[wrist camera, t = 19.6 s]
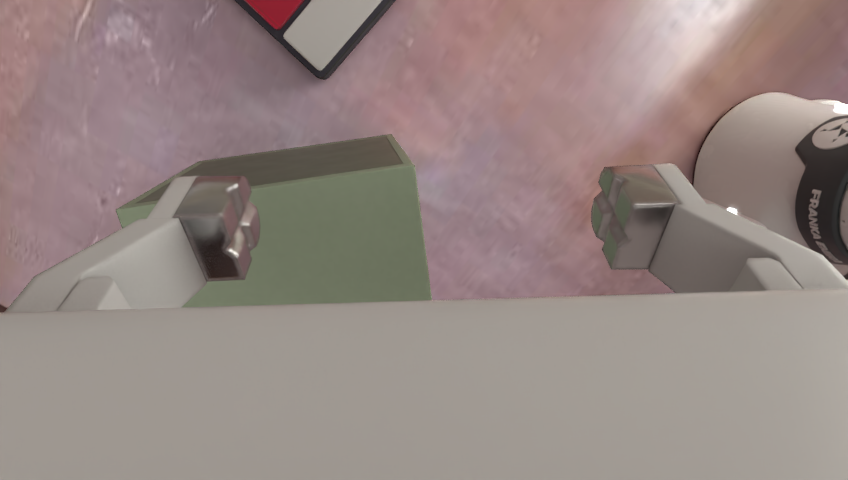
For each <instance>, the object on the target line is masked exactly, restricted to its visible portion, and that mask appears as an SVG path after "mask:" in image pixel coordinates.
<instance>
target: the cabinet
mask: <svg viewBox="0 0 848 480" xmlns="http://www.w3.org/2000/svg"><path fill="white" fill-rule="evenodd" d="M179 176H245V177H246V178H247V179H248V181H249V184H250V187H251V190H252V193H251V195H250V198H249V201H250V202H251V203H252V204H254V205H255V206H256V207H257V210H258V213H259V217H260V225H261V228H260V238H259V241H258V244H257V246H256V247H255V248H254V249H252V250H251V251H250V254H251V257H252V261H251V264H250V267H249V270H248V272H247V275H246V278H245V280H231V281H212V282H207V284H206V285H205V286H204V287H203V288H202V289H201V290H200V291H199V292H197V293H196V294H195V295H194V296H193V297H192V298H191V299H190V300H189V301H188V302H187V303H185V304H184V305H183V306H182V307H216V306H251V305H286V304H321V303H356V302H390V301H425V300H432V297H431V289H430V282H429V274H428V266H427V258H426V250H425V242H424V235H423V227H422V219H421V211H420V203H419V195H418V188H417V180H416V172H415V166H414V164H413V163H412V161H411V160H410V159H409V157H408V156H407V155H406V153H405V152H404V151H403V149H402V148H401V146H400V145H399V144H398V142H397V141H396V140H395V138H394V137H393V136H392V134H389V135H382V136H375V137H368V138H361V139H354V140H347V141H340V142H333V143H325V144H318V145H311V146H304V147H297V148H290V149H283V150H276V151H269V152H262V153H255V154H248V155H241V156H234V157H227V158H220V159H212V160H205V161H199V162H197V163H195V164H194V165H192V166H190V167H188V168H187V169H185V170H183V171H182V172H180V173H178V174H176V175H175V176H173V177H171V178H169V179H168V180H166V181H164V182H163V183H161V184H159V185H157V186H156V187H154V188H152V189H151V190H149V191H147V192H145V193H144V194H142V195H140V196H139V197H137V198H135V199H133V200H132V201H130V202H128V203H127V204H125V205H123V206H121V207H120V208H118V209H116V212H117V215H118V218H119V220H120V223H121V226H122V228H124V227H126V226H127V225H129V224H131V223H133V222H135V221H137V220H138V219H147V217H148V216H149V214H150V213H151V211H152V210H153V208H154V207H155V205H156V204H157V202H158V201H159V199H160V198H161V196H162V195H163V193H164V192H165V190H166V189H167V187H168V186H169V184H170V183H171V181H172V180H173V178H175V177H179Z"/></svg>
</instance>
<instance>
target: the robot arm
mask: <svg viewBox="0 0 848 480" xmlns="http://www.w3.org/2000/svg"><path fill="white" fill-rule="evenodd" d="M598 183H599V185H600V186H601V188H602V190H603V191H602V192H600V193H599V194H598V195H597V196H596V197H595V198H594V201H593V206H592V210H591V222H592V227H593V230H594V233H595V235H596V237H597V238H599V239H600V240H602V241H603V242H604V245H603V248H602V251H603V253H604V255H605V257H606V259H607V261H608V263H609V265H610V268H611V269H649V270H648V271H649V272H650V273H652V274H653V275H654V276H655V277H657V278H658V279H659V280H660V281H662V282H663V283H664V284H665V285H667V286H668V287H669V288H670V289H672V290H673V291H674V292H675V293H667V294H632V295H598V296H564V297H529V298H495V299H460V300H425V301H390V302H356V303H321V304H286V305H251V306H216V307H182V306H183V305H184V304H185V303H187V302H188V301H189V300H190V299H191V298H192V297H193V296H194V295H195V294H196V293H197V292H199V291H200V290H201V289H202V288H203V287H204V286H205V285H206V284H207V282H212V281H231V280H245V278H246V275H247V272H248V270H249V267H250V264H251V261H252V257H251V254H250V251H251V250H252V249H254V248H255V247H256V246H257V244H258V241H259V238H260V228H261V225H260V217H259V213H258V210H257V207H256V206H255V205H254V204H252V203H251V202H250V201H249V198H250V195H251V193H252V190H251V187H250V184H249V181H248V179H247V178H246V177H245V176H179V177H175V178H173V180H172V181H171V183H170V184H169V186H168V187H167V189H166V190H165V192H164V193H163V195H162V196H161V198H160V199H159V201H158V202H157V204H156V205H155V207H154V208H153V210H152V211H151V213H150V214H149V216H148V217H147V219H138V220H137V221H135V222H133V223H131V224H129V225H127V226H126V227H124V228H122V229H120V230H118V231H117V232H115V233H113V234H111V235H109V236H107V237H106V238H104V239H102V240H100V241H98V242H96V243H95V244H93V245H91V246H89V247H87V248H86V249H84V250H82V251H80V252H78V253H76V254H75V255H73V256H71V257H69V258H67V259H65V260H64V261H62V262H60V263H58V264H56V265H54V266H53V267H51V268H49V269H47V270H45V271H44V272H42V273H40V274H38V275H36V276H34V277H33V279H32V280H31V281H30V282H29V283H28V285H27V286H26V287H25V288H24V289H23V291H22V292H21V293H20V294H19V295H18V297H17V298H16V299H15V300H14V302H13V303H12V304H11V305H10V306H9V308H8V309H7V310H6V311H5V312H4V313H0V480H848V281H847V280H846V279H848V105H846V104H842V103H841V102H839V101H835V100H830V99H820V100H812V101H810V100H806V99H803V98H800V97H797V96H793V95H790V94H787V93H780V92H773V93H765V94H760V95H757V96H754V97H752V98H749V99H747V100H745V101H743V102H742V103H740V104H738V105H737V106H735V107H734V108H733V109H731V110H730V111H729V112H728V113H727V114H725V115H724V116H723V117H722V118H721V119H720V120H719V122H718V123H717V124H716V125H715V126H714V128H713V129H712V130H711V132H710V133H709V135H708V137H707V138H706V140H705V142H704V144H703V146H702V148H701V150H700V153H699V156H698V159H697V163H696V167H695V174H694V184H693V186H692V185H691V184H690V182H689V181H688V180H687V179H686V177H685V176H684V175H683V174H682V172H681V171H680V170H679V169H678V167H677V166H676V165H674V164H671V163H666V164H650V165H634V166H614V167H604V169H603V171H602V172H601V175H600V179H599V182H598Z"/></svg>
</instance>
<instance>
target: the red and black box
mask: <svg viewBox="0 0 848 480" xmlns="http://www.w3.org/2000/svg"><path fill="white" fill-rule="evenodd" d="M235 1H236V2H237V3H238V4H239V5H240V6H241V7H242V8H243V9H244V10H245V11H246V12H248V13H249V14H250V15H251V16H252V17H253V18H254V19H255V20H256V21H257V22H258V23H259V24H260V25H261V26H262V27H264V28H265V29H266V30H267V31H268V32H269V33H270V34H271V35H272V36H273V37H274V38H275V39H276V40H277V41H279V42H280V43H281V44H282V45H283V46H284V47H285V48H286V49H287V50H288V51H289V52H290V53H291V54H292V55H294V56H295V57H296V58H297V59H298V60H299V61H300V62H301V63H302V64H303V65H304V66H305V67H306V68H307V69H308V70H310V71H311V72H312V73H313V74H314V75H315V76H316V77H317V78H319V79H323V80H326V79H328V78H329V77H330V76H331V74H332V73H333V72H334V71H335V70H336V69H337V67H338V66H339V65H340V64H341V63H342V62H343V61H344V59H345V58H346V57H347V56H348V55H349V54H350V52H351V51H352V50H353V49H354V48H355V47H356V45H357V44H358V43H359V42H360V41H361V40H362V39H363V37H364V36H365V35H366V34H367V33H368V32H369V30H370V29H371V28H372V27H373V26H374V25H375V24H376V22H377V21H378V20H379V19H380V18H381V17H382V15H383V14H384V13H385V12H386V11H387V10H388V8H389V7H390V6H391V5H392V4H393V3H394V2H395V0H235Z"/></svg>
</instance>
